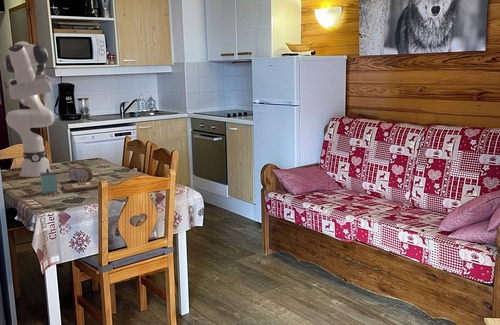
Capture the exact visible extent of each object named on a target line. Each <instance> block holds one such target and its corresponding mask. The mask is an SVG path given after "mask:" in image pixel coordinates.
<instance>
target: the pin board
mask: <svg viewBox="0 0 500 325" xmlns="http://www.w3.org/2000/svg"><path fill="white" fill-rule="evenodd" d="M80 181H81V182H80ZM80 181H79V179H77V181H76V182H70V183H62V184H61V187H62V189H63V190H64V192H65V193H66V194H68V193H76V192H85V191H91V190H99V189H98V182H99V181H98V180H90V181H85V178H83V181H84V182H83V181H82V178H80Z"/></svg>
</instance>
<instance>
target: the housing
mask: <svg viewBox="0 0 500 325" xmlns="http://www.w3.org/2000/svg"><path fill="white" fill-rule="evenodd" d="M39 177H40V186H41V193H42V194H43V195H44V194H53V193H58V182H57V172H56V171H54V170H52V171H51V172H49V169H46V172H42V173H40V176H39Z"/></svg>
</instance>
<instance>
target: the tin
mask: <svg viewBox="0 0 500 325" xmlns="http://www.w3.org/2000/svg"><path fill="white" fill-rule="evenodd" d="M67 172H68V178H69V179H70V180H71V181H73V182H78V181H77V179H79V181H80V178H82V181H83V178H85V181H92V180H93V177H94V175H93V172H92V170H91V168H89V167H87V166H79V165H73V166H71V167H70V168H69V169H68V171H67ZM80 182H81V181H80ZM83 182H84V181H83Z"/></svg>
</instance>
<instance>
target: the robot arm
mask: <svg viewBox="0 0 500 325" xmlns="http://www.w3.org/2000/svg"><path fill="white" fill-rule="evenodd" d="M7 50H8V54H7V55H6V56H5V58H4V64H3V65H4V68H5V69H6V71H7V72H8V73H12V74H15V76H12V77H11V78H9V80H8V82H7V84H8V86H9V87H8V93H9V97H10V99H11V100H18V101H19V103H21V105H23V107H28V108H24V109H23V108H21V109H14V110H11V111H8V112H7V114H6V115H5V121H6V124H7V125H8V127H10V128H11V129H13V130H14V131H15V132H16V133H17V134H18V135H19V137H20V140H21V143H22V147H23V148H22V149H23V154H22V156H23V160H22V161H21V163H20V168H21V171H20V173H19V175H18V177H25V178H37V177H40V173H42V172H46V169H49V172H51V171H53V170H51V168H50V161H49V159H48V158H47V157H46V150H45V146H44V138H43V137H42V136H41V134H37V133H36V132H33V131H31V129H32V128H33V129H35V128H37V129H38V128H45V127H50V126H53V124H54V122H55V114H54V112H53V110H51V109H50V108H48V107H46V106H45V105H44V104H43V103H45V102H47V99H46V95H47V94H48V93H51V92H52V90H53V88H52V85H51V82H50V80H51V79H50V77H49V75H48V74H44V73H43V72H44V71H45V69H46V66H47V65H46V64H47V62H48V60H49V54H48V51H47V49H46V48H45V46H43V45H42V44H33V43H32V44H30V43H29V42H27V41H23V40H22V41H18V42H16V43H14V45H11V46H9V48H8V49H7ZM41 73H43V74H41ZM37 74H38V75H37ZM41 94H42V96H43V97H42V99H41V98H40V95H41ZM41 100H42V101H41ZM42 102H43V103H42Z"/></svg>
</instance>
